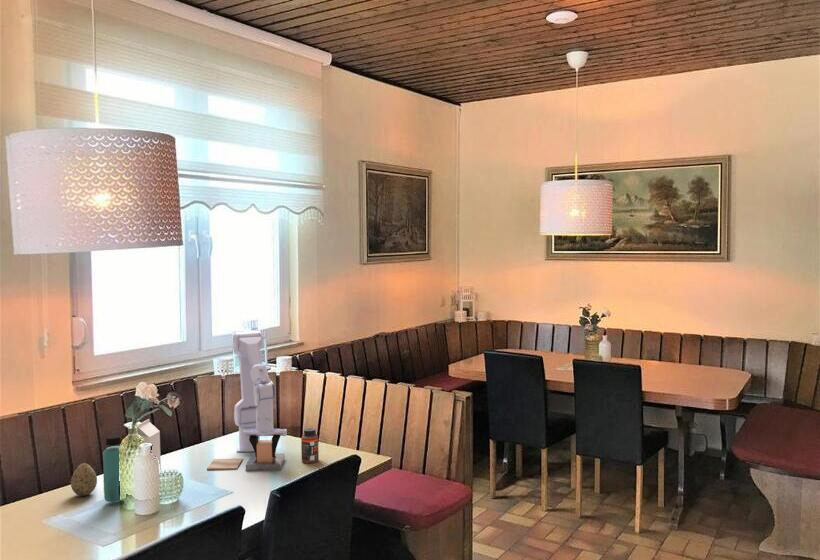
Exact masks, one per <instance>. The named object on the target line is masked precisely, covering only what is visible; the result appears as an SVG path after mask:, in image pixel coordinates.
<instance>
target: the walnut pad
mask: <svg viewBox="0 0 820 560" xmlns="http://www.w3.org/2000/svg"><path fill="white" fill-rule="evenodd" d="M243 460H244V459H243V458H214V459H213V460H212V461H211V462H210V464H209V465H208V466H207V468H206V471H224V470H225V471H228V470H229V471H232V470H235V469H237V468H238V469H239V467H240V466H241V464H242V462H243ZM238 469H237V470H238Z"/></svg>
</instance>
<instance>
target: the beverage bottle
mask: <svg viewBox="0 0 820 560" xmlns="http://www.w3.org/2000/svg"><path fill="white" fill-rule="evenodd" d="M105 441H106V442H105V445H106V446H109V447H106V448H105V449H104V450H103V451H102V463H103V464H102V465H103V470H102V471H103V479H102V480H103V497H104V501H106V503H107V502H108V503H116V502H120V481H119V448H120V445H121V444H122V438H121V435H116V434H114V435H109V436H106V440H105Z"/></svg>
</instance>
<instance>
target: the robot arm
mask: <svg viewBox="0 0 820 560" xmlns="http://www.w3.org/2000/svg"><path fill="white" fill-rule="evenodd" d="M263 339H264V338H263V334H262V332H261V331H260V330H257V331H243V332H241V331H240V332H238V331H236V332H234V333H233V336H232V350H233V353H234V355H237V357H238V360H239V377H240V391H241V392H240V393H241V395H240V396H241V399H240V400H239V401H238V402H236V404H234V411H233V420H234V424H235V426H237V427H238V439H239V440H238V441H239V442H238V443H239V445H238V447H237V450H236V453H241V452H242V453H243V452H244V453H245V452H254V454H255V456H256V458H257V443H258V441H259V440H261V438H260V437H271V440H272V457H275V454H276V452H277V447H278V444H279V442H280V439H281V436H282V437H287V433H288V432H287V431H288V430H287V428H275V427H274V399H275V397H276V387H275V384H274V382H273V381H272V379H270V376H269V373H268V369H267V366H265V365H264V364H263V362H262V356H261V350H262V346H263V345H264V344H263V343H264V340H263Z"/></svg>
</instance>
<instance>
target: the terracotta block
mask: <svg viewBox="0 0 820 560" xmlns="http://www.w3.org/2000/svg"><path fill="white" fill-rule="evenodd" d="M257 462H274V457H272V439H260V440H259V441H258V443H257Z"/></svg>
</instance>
